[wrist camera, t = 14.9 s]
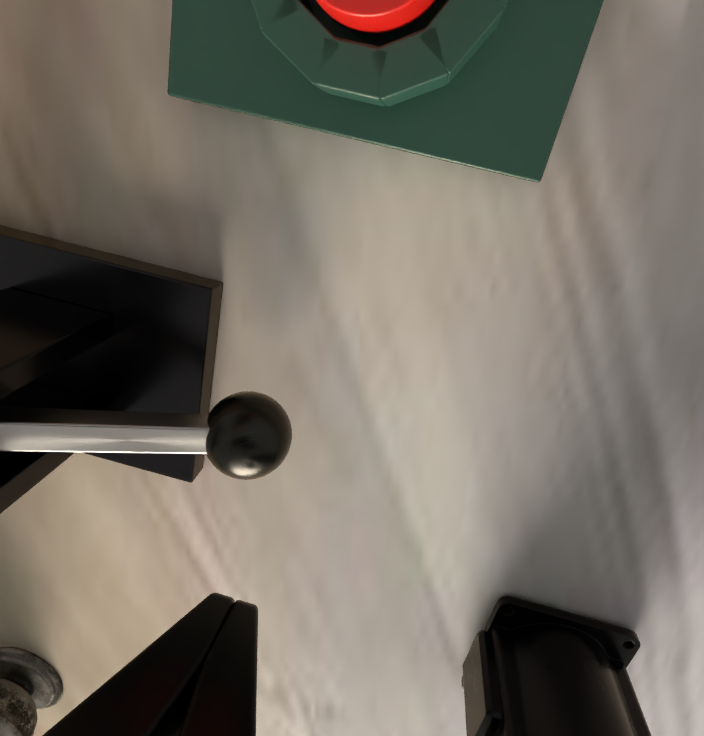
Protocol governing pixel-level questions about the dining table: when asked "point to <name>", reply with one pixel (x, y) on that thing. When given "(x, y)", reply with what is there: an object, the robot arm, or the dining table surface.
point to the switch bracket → (100, 345)
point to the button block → (394, 73)
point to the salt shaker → (25, 691)
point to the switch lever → (161, 433)
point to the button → (375, 13)
